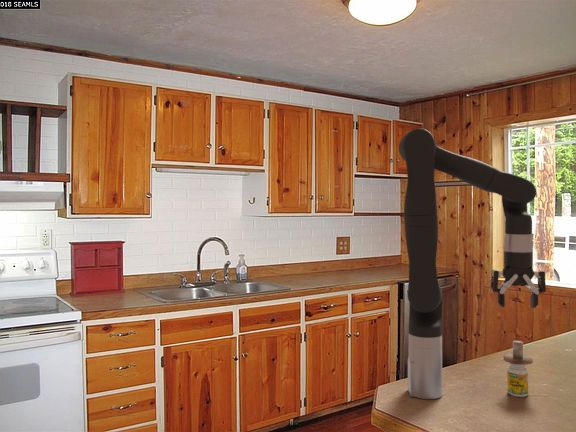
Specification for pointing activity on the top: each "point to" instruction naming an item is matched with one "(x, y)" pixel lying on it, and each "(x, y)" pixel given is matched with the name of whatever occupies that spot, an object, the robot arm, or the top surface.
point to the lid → (518, 355)
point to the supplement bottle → (517, 380)
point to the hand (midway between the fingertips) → (517, 306)
